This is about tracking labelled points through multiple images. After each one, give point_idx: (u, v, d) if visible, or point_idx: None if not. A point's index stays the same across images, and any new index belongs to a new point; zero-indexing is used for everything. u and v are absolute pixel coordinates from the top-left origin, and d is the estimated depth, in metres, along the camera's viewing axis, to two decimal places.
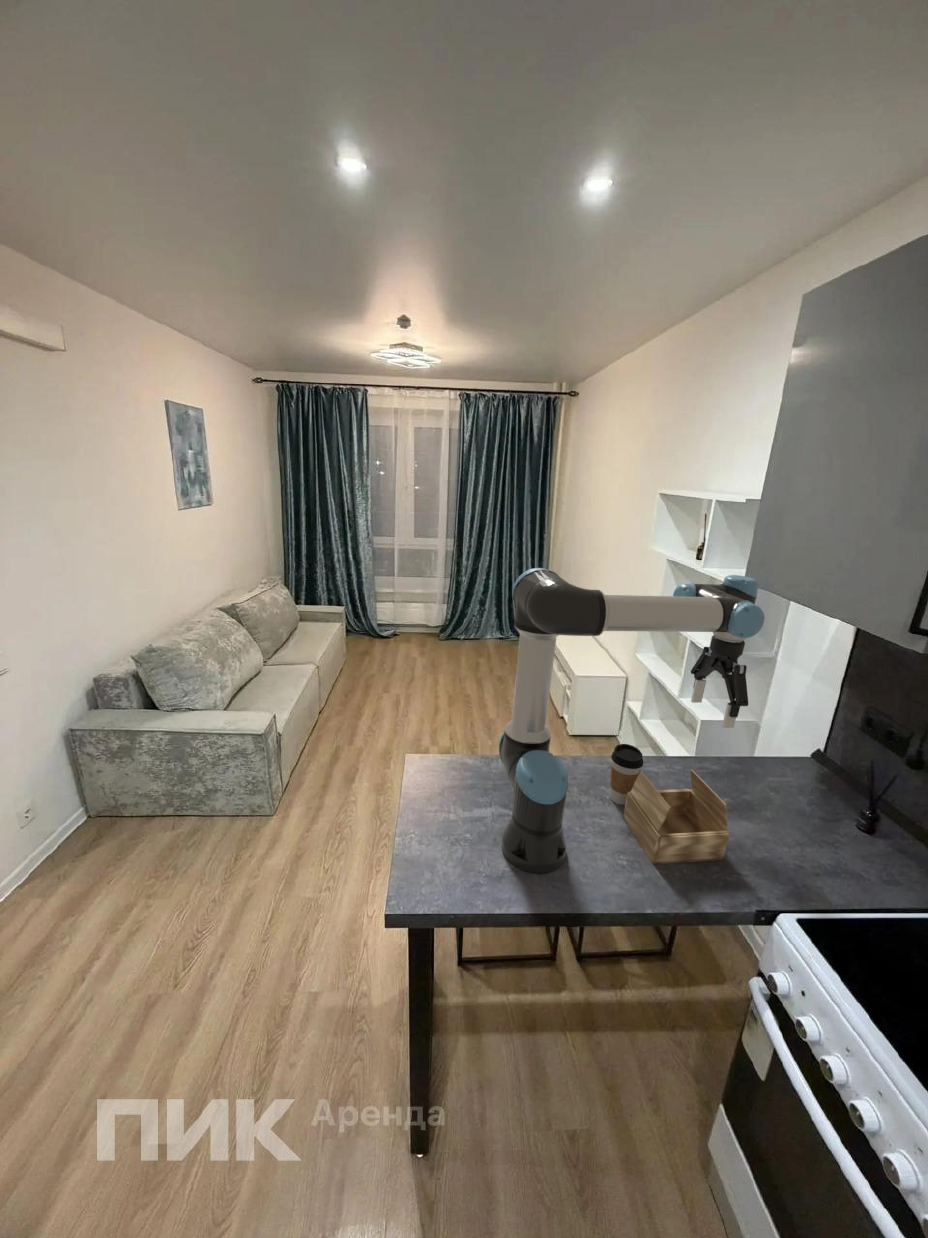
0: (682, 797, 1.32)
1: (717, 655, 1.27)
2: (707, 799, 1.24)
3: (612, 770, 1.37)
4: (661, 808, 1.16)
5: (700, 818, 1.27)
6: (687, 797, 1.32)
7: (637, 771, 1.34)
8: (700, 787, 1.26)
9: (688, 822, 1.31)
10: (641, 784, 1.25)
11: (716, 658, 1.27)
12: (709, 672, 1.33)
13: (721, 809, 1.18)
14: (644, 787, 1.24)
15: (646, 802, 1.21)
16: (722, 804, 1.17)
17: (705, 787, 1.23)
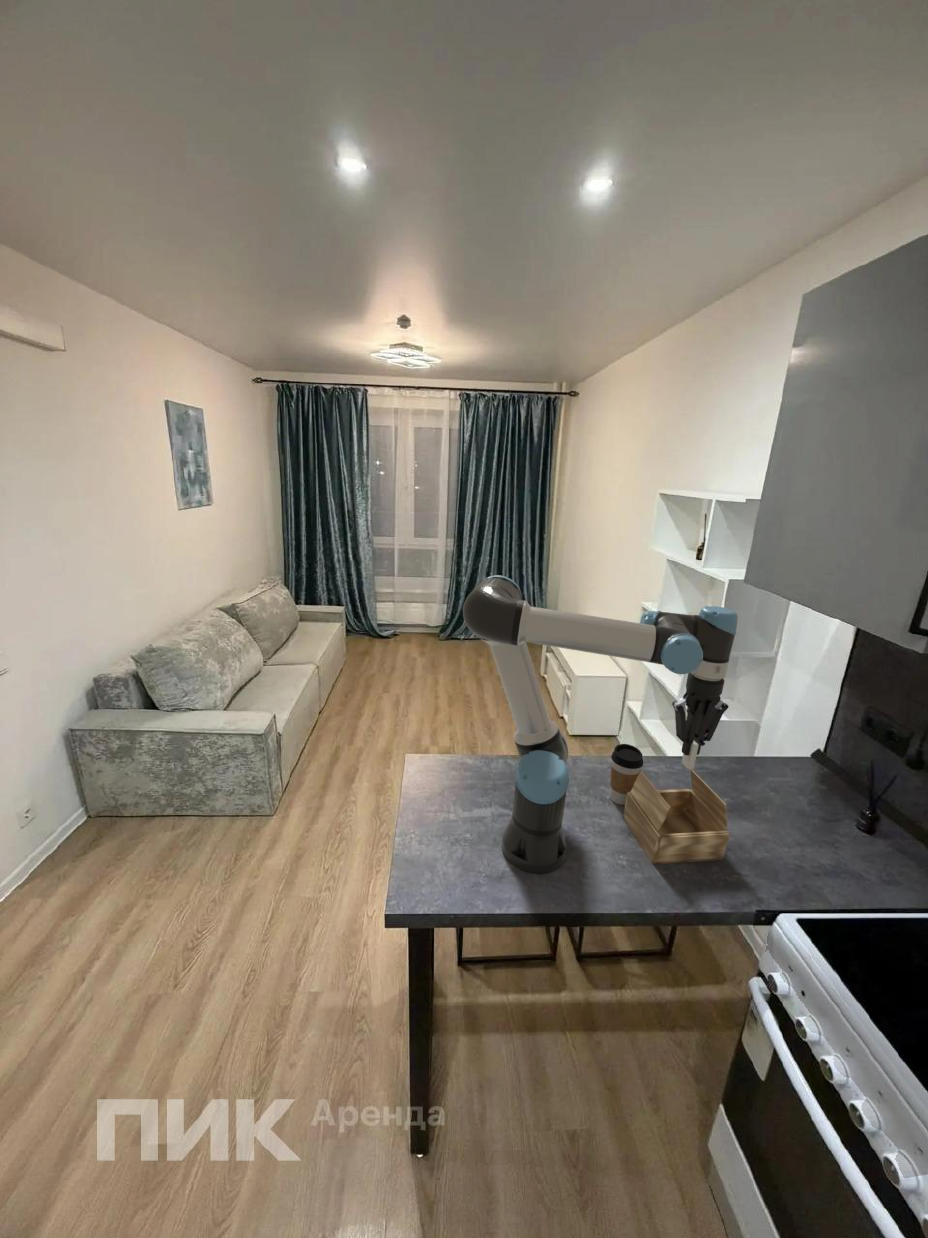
0: (682, 797, 1.32)
1: None
2: (707, 799, 1.24)
3: (612, 770, 1.37)
4: (661, 808, 1.16)
5: (700, 818, 1.27)
6: (687, 797, 1.32)
7: (637, 771, 1.34)
8: (700, 787, 1.26)
9: (688, 822, 1.31)
10: (641, 784, 1.25)
11: None
12: (700, 726, 1.16)
13: (721, 809, 1.18)
14: (644, 787, 1.24)
15: (646, 802, 1.21)
16: (722, 804, 1.17)
17: (705, 787, 1.23)
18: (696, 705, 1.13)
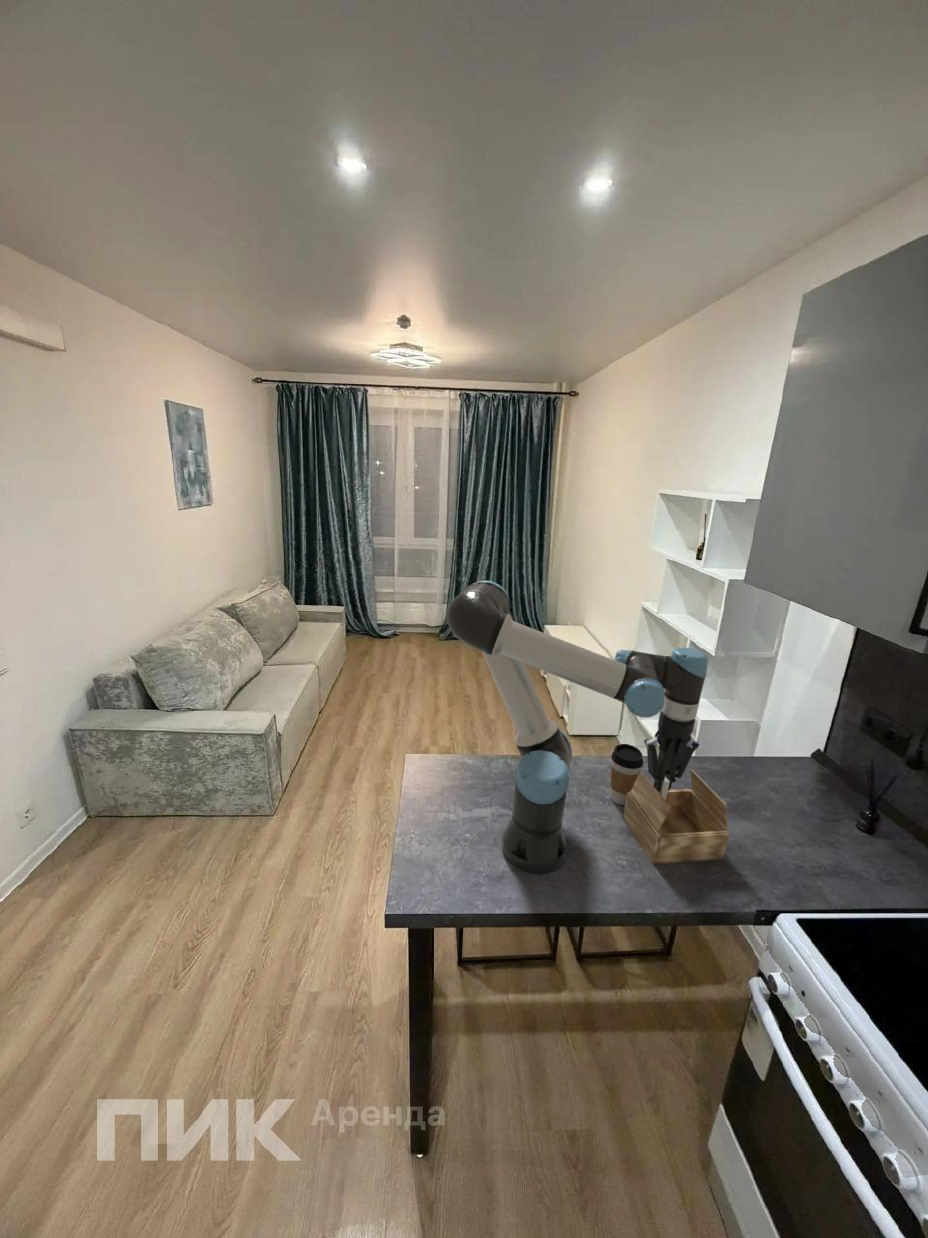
0: (682, 797, 1.32)
1: None
2: (707, 799, 1.24)
3: (612, 770, 1.37)
4: (661, 808, 1.16)
5: (700, 818, 1.27)
6: (687, 797, 1.32)
7: (637, 771, 1.34)
8: (700, 787, 1.26)
9: (688, 822, 1.31)
10: (641, 784, 1.25)
11: None
12: (671, 763, 1.18)
13: (721, 809, 1.18)
14: (644, 787, 1.24)
15: (646, 802, 1.21)
16: (722, 804, 1.17)
17: (705, 787, 1.23)
18: (667, 743, 1.15)
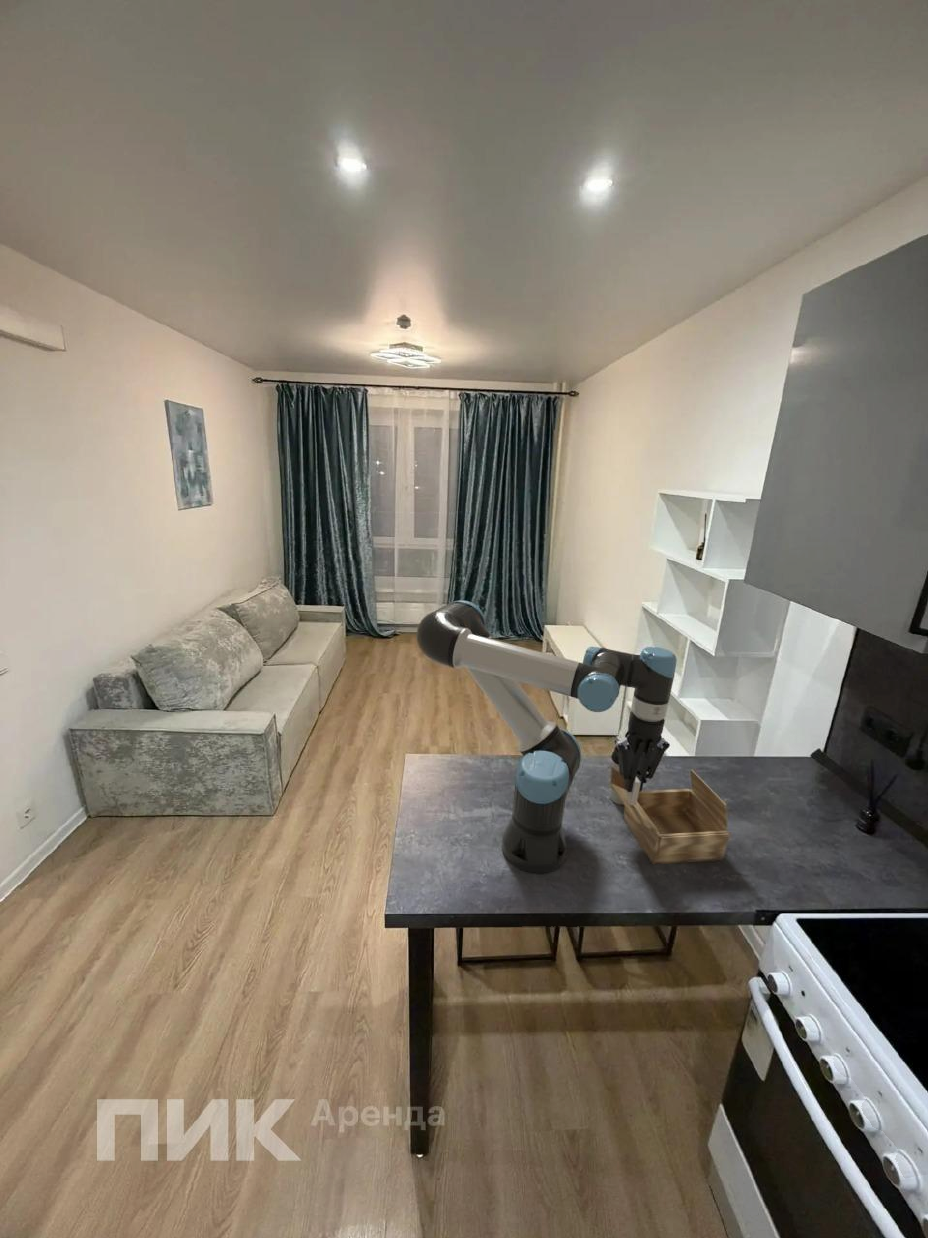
0: (682, 797, 1.32)
1: None
2: (707, 799, 1.24)
3: (612, 770, 1.37)
4: None
5: (700, 818, 1.27)
6: (687, 797, 1.32)
7: None
8: (700, 787, 1.26)
9: (688, 822, 1.31)
10: None
11: None
12: (642, 764, 1.17)
13: (721, 809, 1.18)
14: None
15: None
16: (722, 804, 1.17)
17: (705, 787, 1.23)
18: (637, 744, 1.14)
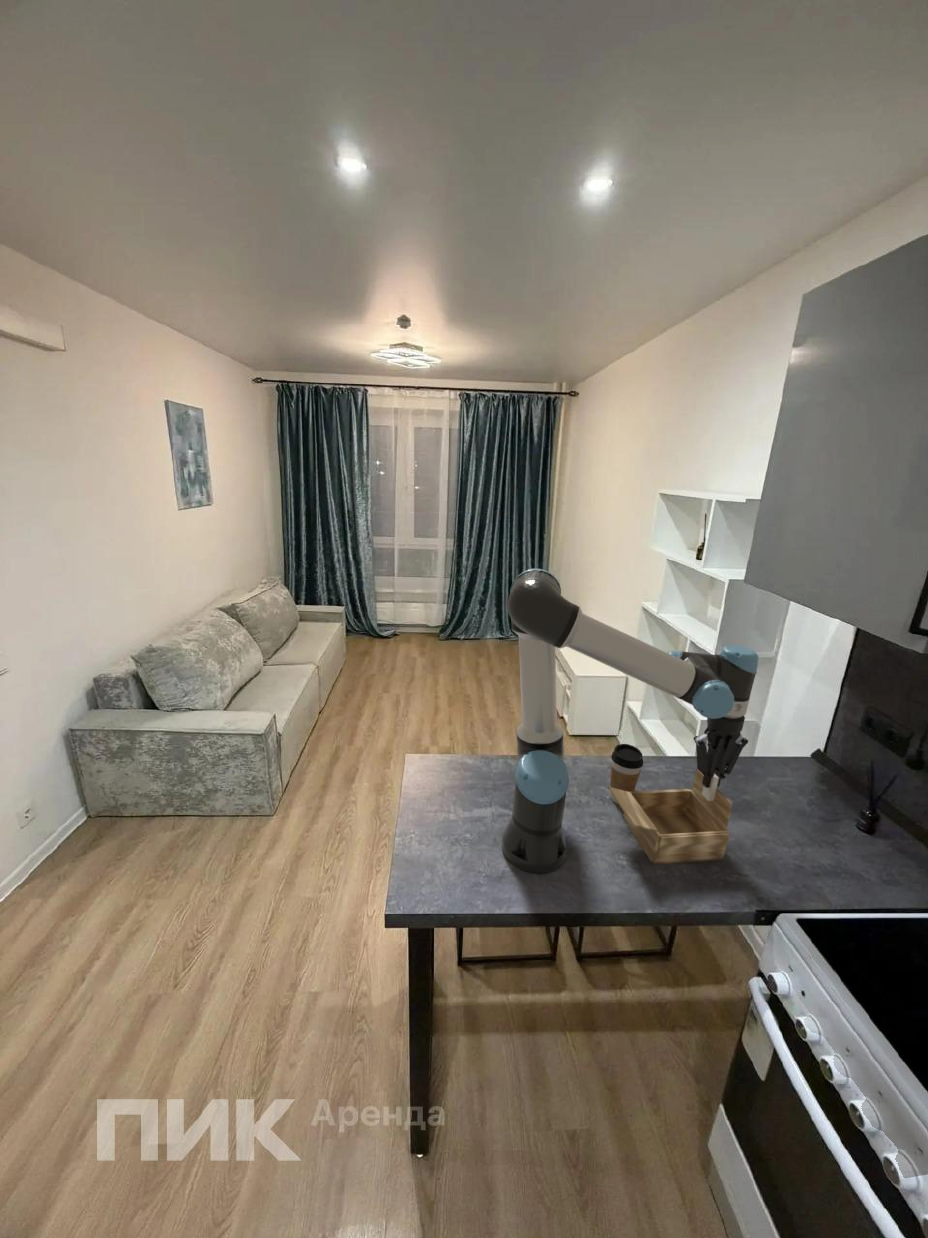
0: (682, 797, 1.32)
1: None
2: None
3: (612, 770, 1.37)
4: None
5: (700, 818, 1.27)
6: (687, 797, 1.32)
7: (637, 771, 1.34)
8: None
9: (688, 822, 1.31)
10: None
11: None
12: (720, 760, 1.20)
13: (725, 808, 1.18)
14: None
15: None
16: (727, 803, 1.17)
17: None
18: (717, 740, 1.17)
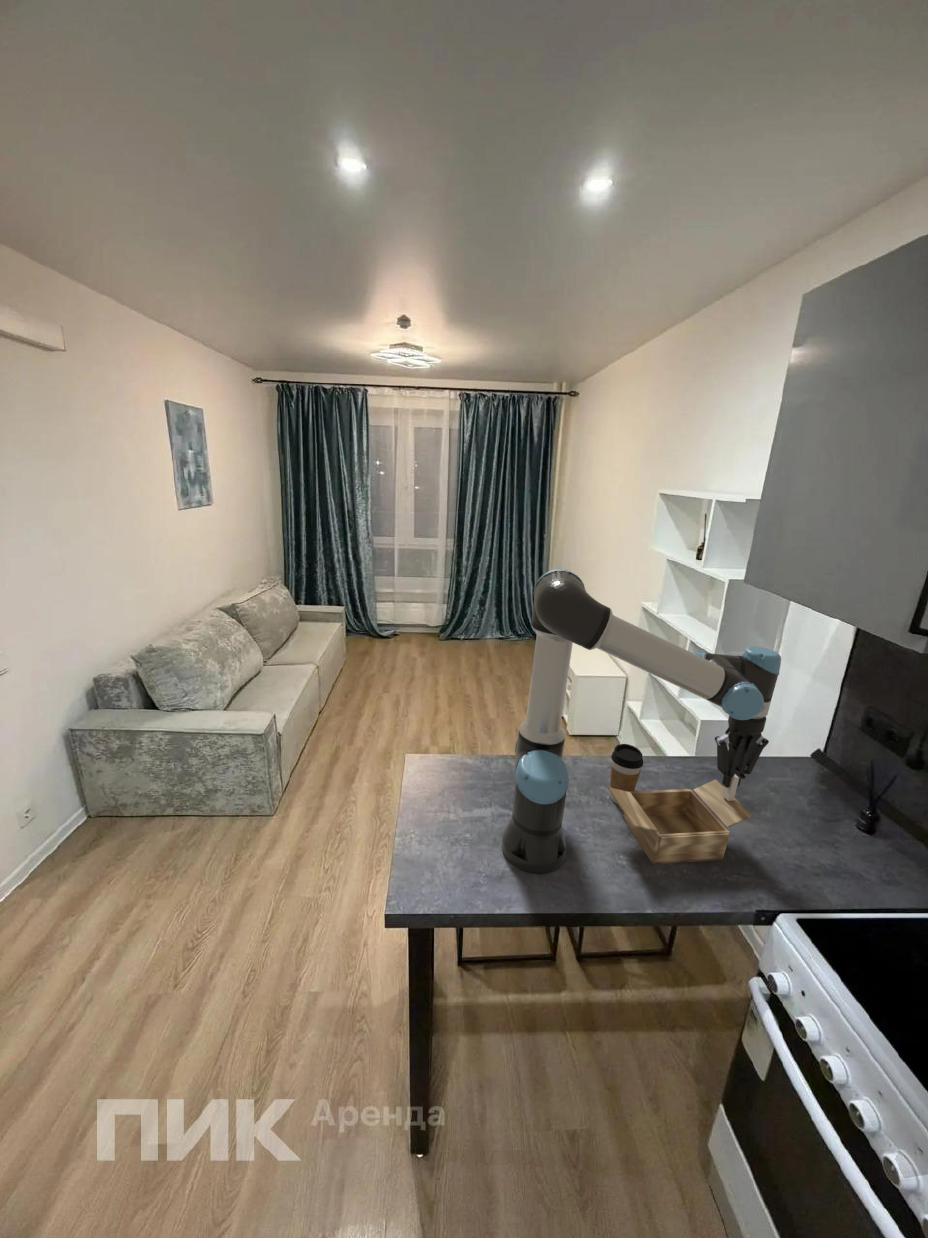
0: (682, 797, 1.32)
1: None
2: (718, 802, 1.24)
3: (612, 770, 1.37)
4: None
5: (700, 818, 1.27)
6: (687, 797, 1.32)
7: (637, 771, 1.34)
8: (715, 793, 1.27)
9: (688, 822, 1.31)
10: None
11: None
12: (741, 760, 1.21)
13: (739, 815, 1.19)
14: None
15: None
16: (747, 813, 1.19)
17: None
18: (738, 740, 1.18)
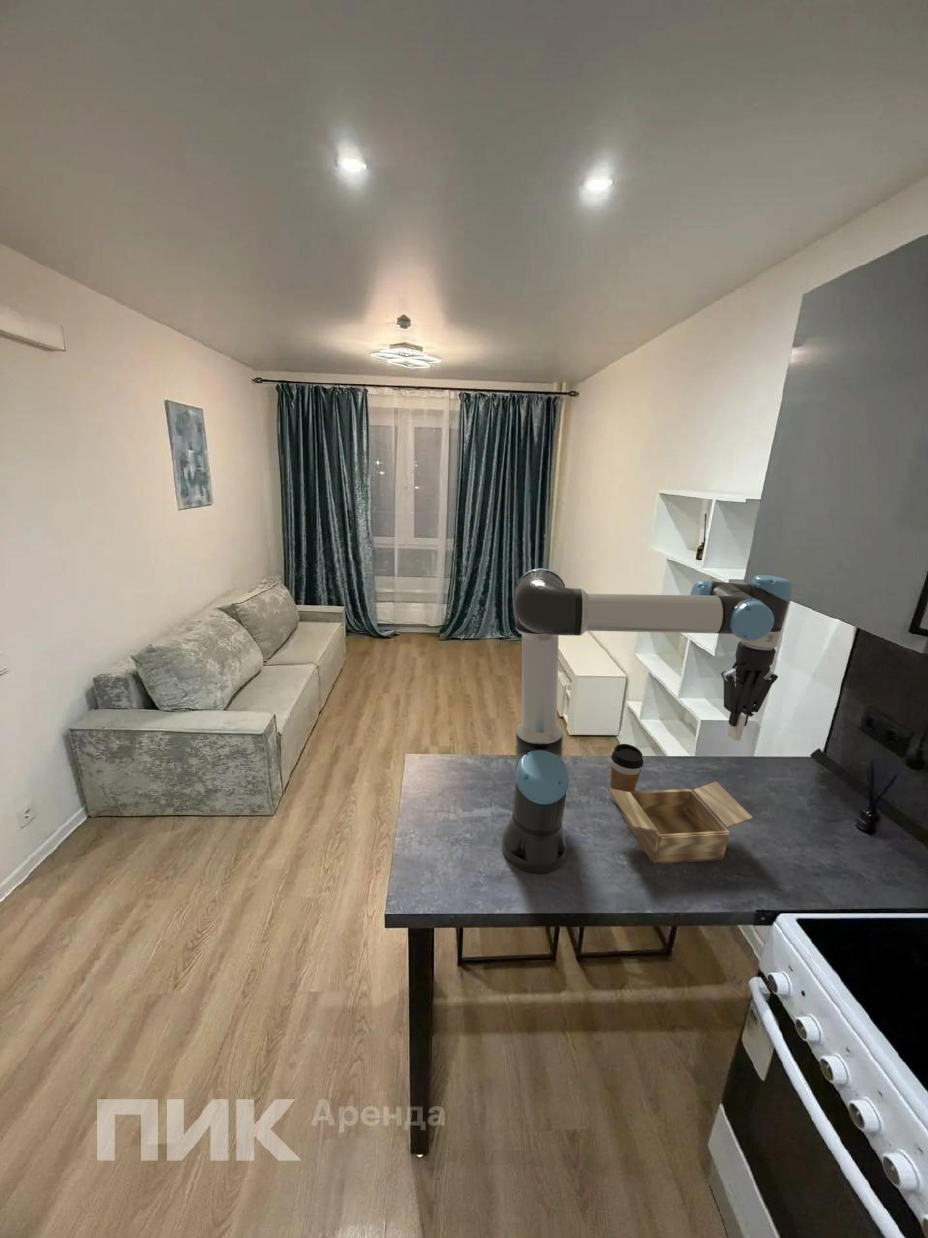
0: (682, 797, 1.32)
1: None
2: (719, 803, 1.24)
3: (612, 770, 1.37)
4: None
5: (700, 818, 1.27)
6: (687, 797, 1.32)
7: (637, 771, 1.34)
8: (715, 794, 1.27)
9: (688, 822, 1.31)
10: None
11: None
12: (748, 696, 1.15)
13: (740, 816, 1.19)
14: None
15: None
16: (747, 815, 1.19)
17: (728, 797, 1.25)
18: (746, 675, 1.13)
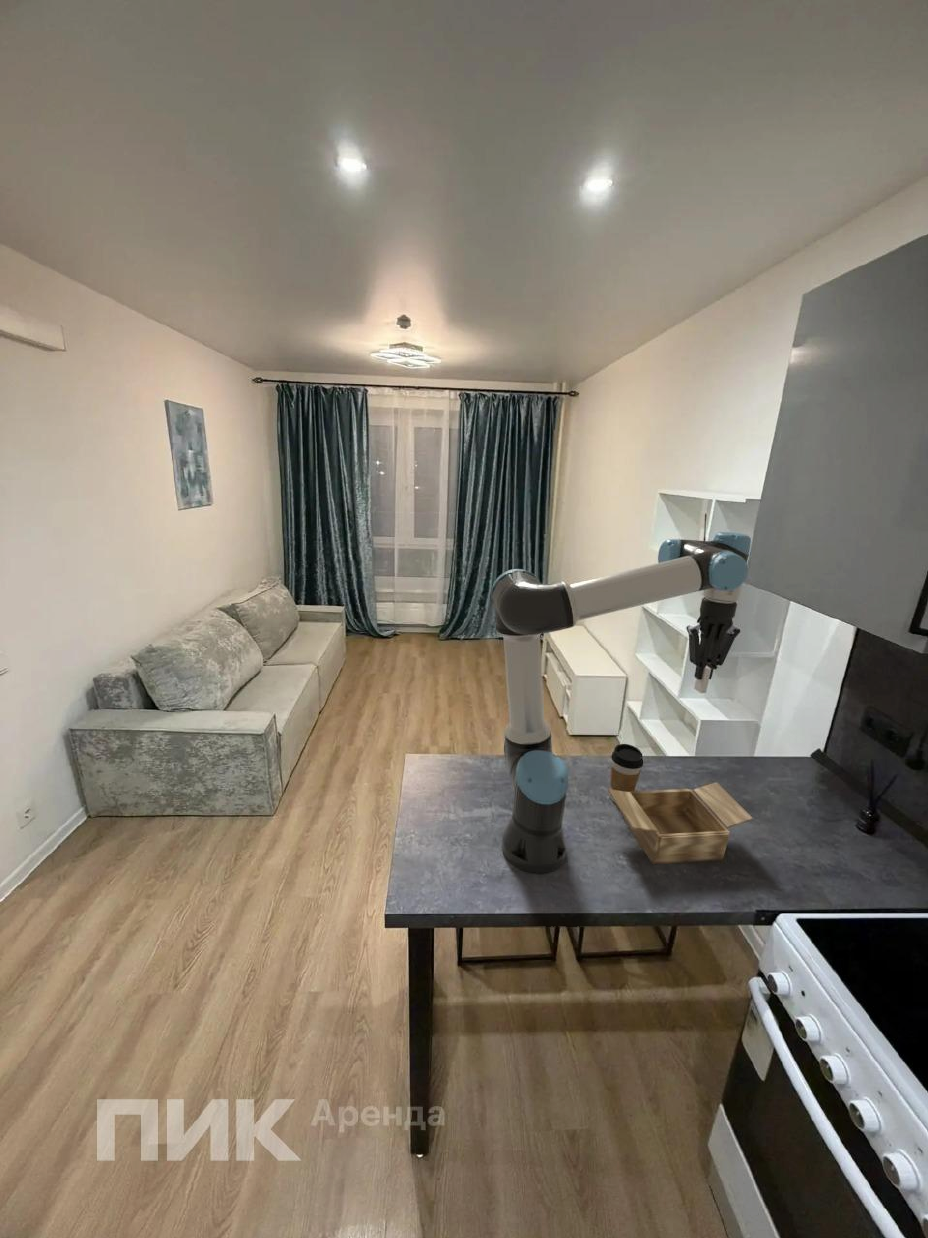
0: (682, 797, 1.32)
1: None
2: (719, 804, 1.25)
3: (612, 770, 1.37)
4: None
5: (700, 818, 1.27)
6: (687, 797, 1.32)
7: (637, 771, 1.34)
8: (715, 794, 1.27)
9: (688, 822, 1.31)
10: None
11: None
12: (712, 650, 1.21)
13: (740, 817, 1.19)
14: None
15: None
16: (747, 816, 1.19)
17: (728, 798, 1.25)
18: (709, 628, 1.18)
